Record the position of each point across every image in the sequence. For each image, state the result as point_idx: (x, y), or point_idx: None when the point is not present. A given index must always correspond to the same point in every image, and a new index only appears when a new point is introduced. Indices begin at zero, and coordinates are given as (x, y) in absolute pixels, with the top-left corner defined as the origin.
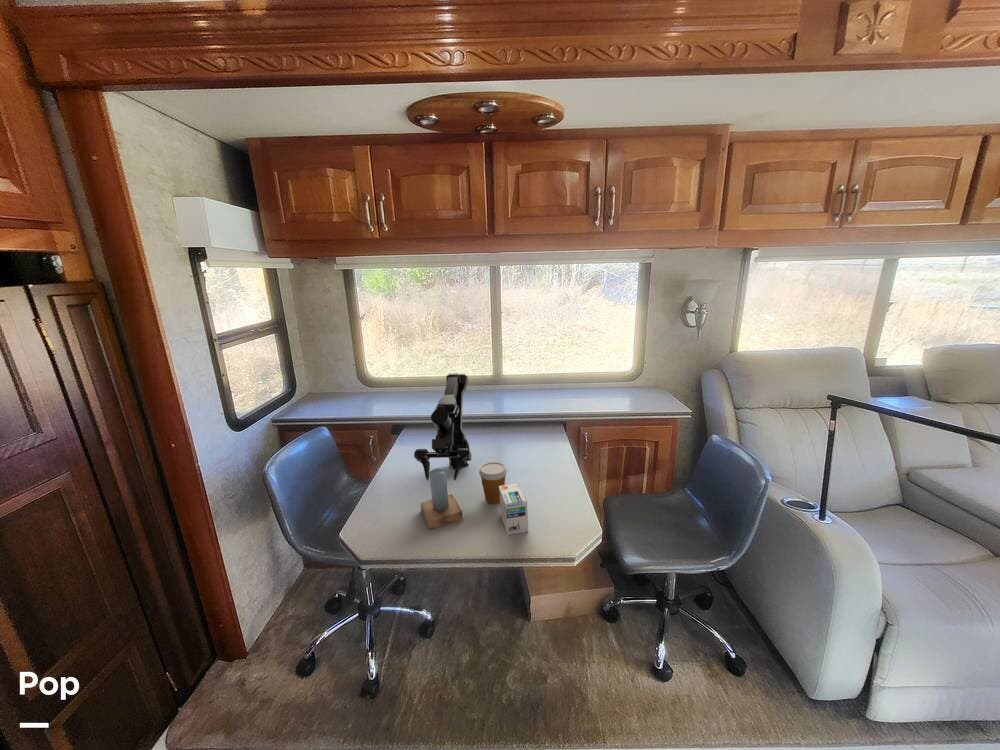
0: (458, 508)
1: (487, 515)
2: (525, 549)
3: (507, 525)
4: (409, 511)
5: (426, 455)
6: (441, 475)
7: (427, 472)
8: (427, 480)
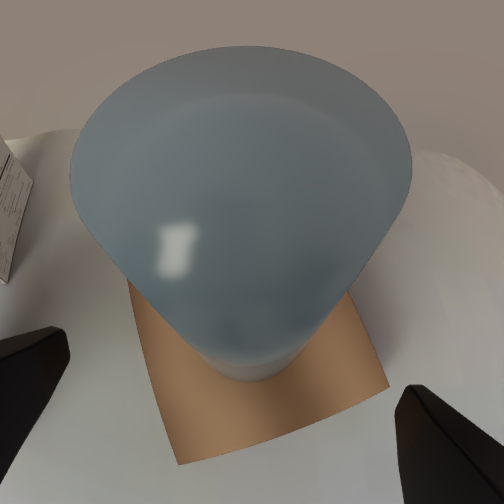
0: (141, 294)
1: (44, 292)
2: (28, 141)
3: (16, 159)
4: (426, 387)
5: None
6: (172, 60)
7: (452, 436)
8: (404, 398)
